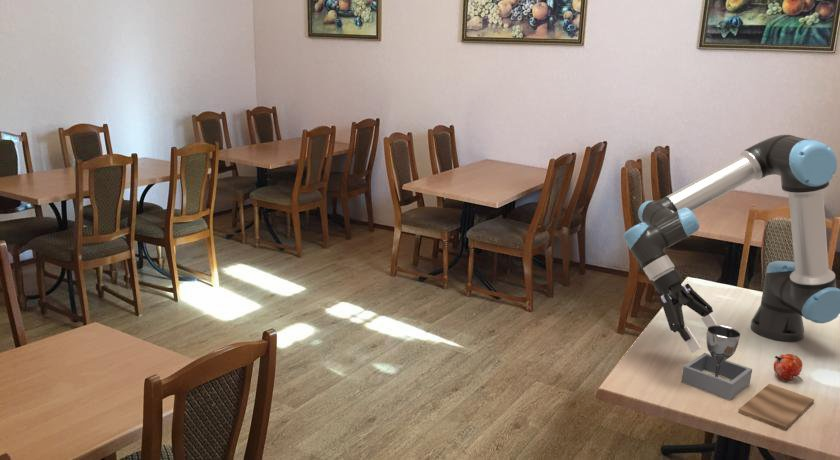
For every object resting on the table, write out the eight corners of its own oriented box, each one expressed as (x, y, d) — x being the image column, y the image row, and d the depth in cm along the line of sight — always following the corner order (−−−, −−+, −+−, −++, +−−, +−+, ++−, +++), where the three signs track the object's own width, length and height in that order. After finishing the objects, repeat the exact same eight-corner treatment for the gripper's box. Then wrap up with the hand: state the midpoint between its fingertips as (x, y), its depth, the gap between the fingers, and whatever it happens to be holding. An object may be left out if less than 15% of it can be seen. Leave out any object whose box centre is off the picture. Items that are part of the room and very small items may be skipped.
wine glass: (734, 392, 183) (743, 339, 179) (702, 388, 185) (710, 335, 181) (727, 378, 191) (736, 327, 187) (697, 374, 192) (705, 323, 188)
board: (768, 386, 187) (769, 383, 187) (813, 402, 179) (814, 399, 179) (738, 412, 173) (738, 408, 173) (785, 430, 166) (785, 426, 165)
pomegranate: (790, 380, 196) (763, 356, 196) (813, 366, 192) (785, 341, 193) (792, 395, 189) (764, 369, 190) (815, 380, 186) (786, 354, 186)
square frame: (702, 367, 197) (704, 352, 195) (749, 384, 188) (752, 369, 187) (680, 381, 188) (683, 366, 187) (729, 400, 179) (732, 384, 178)
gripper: (674, 272, 204) (717, 337, 197) (630, 291, 187) (675, 362, 181) (694, 259, 199) (739, 325, 192) (651, 278, 182) (698, 350, 176)
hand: (708, 343), depth 186 cm, fingers open, 13 cm apart
